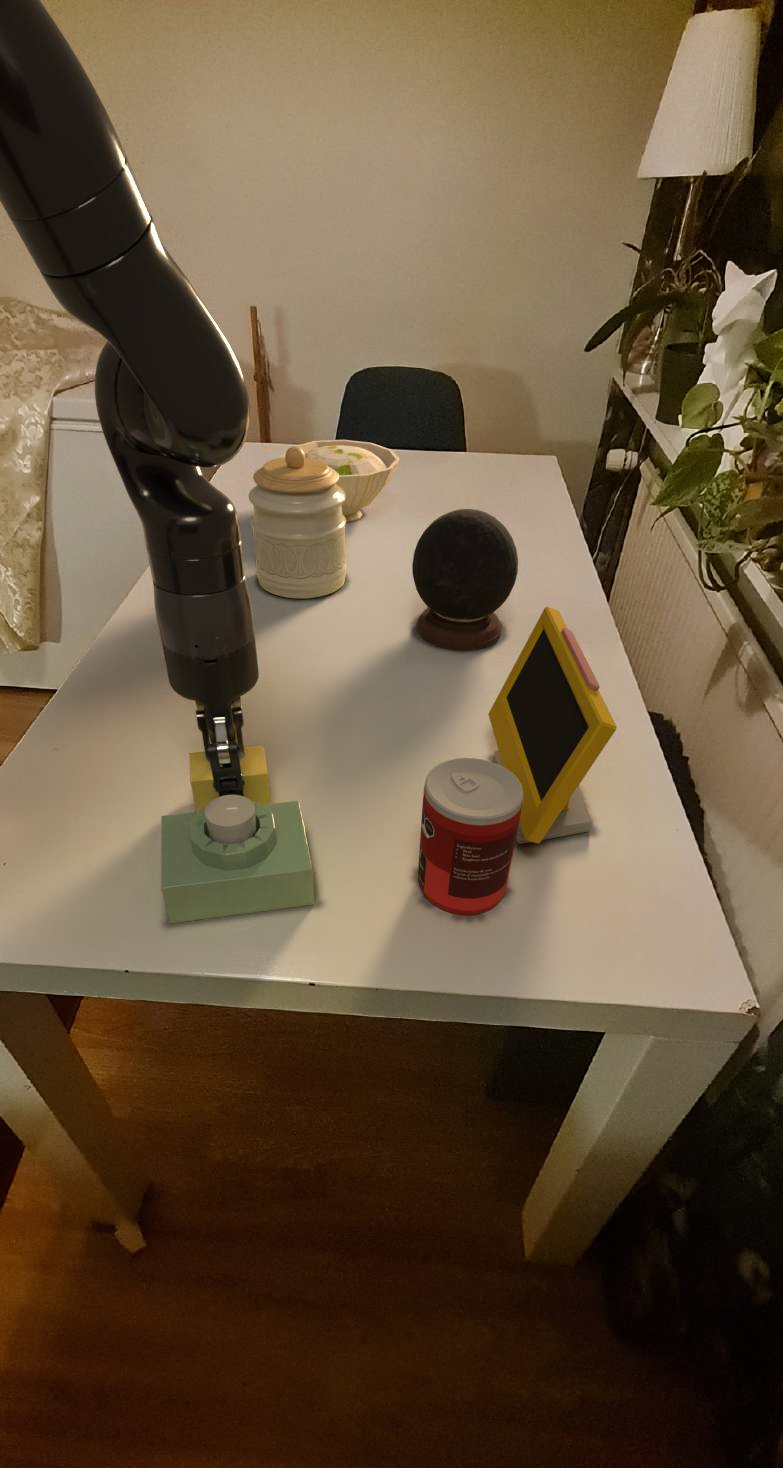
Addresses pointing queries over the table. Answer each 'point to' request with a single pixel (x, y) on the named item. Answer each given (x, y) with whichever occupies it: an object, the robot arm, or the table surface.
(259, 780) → the sponge
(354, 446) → the bowl
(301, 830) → the push button box
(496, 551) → the sphere on stand
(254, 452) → the table surface
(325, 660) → the table surface
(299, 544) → the jar
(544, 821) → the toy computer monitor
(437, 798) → the canned food
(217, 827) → the grey push button
